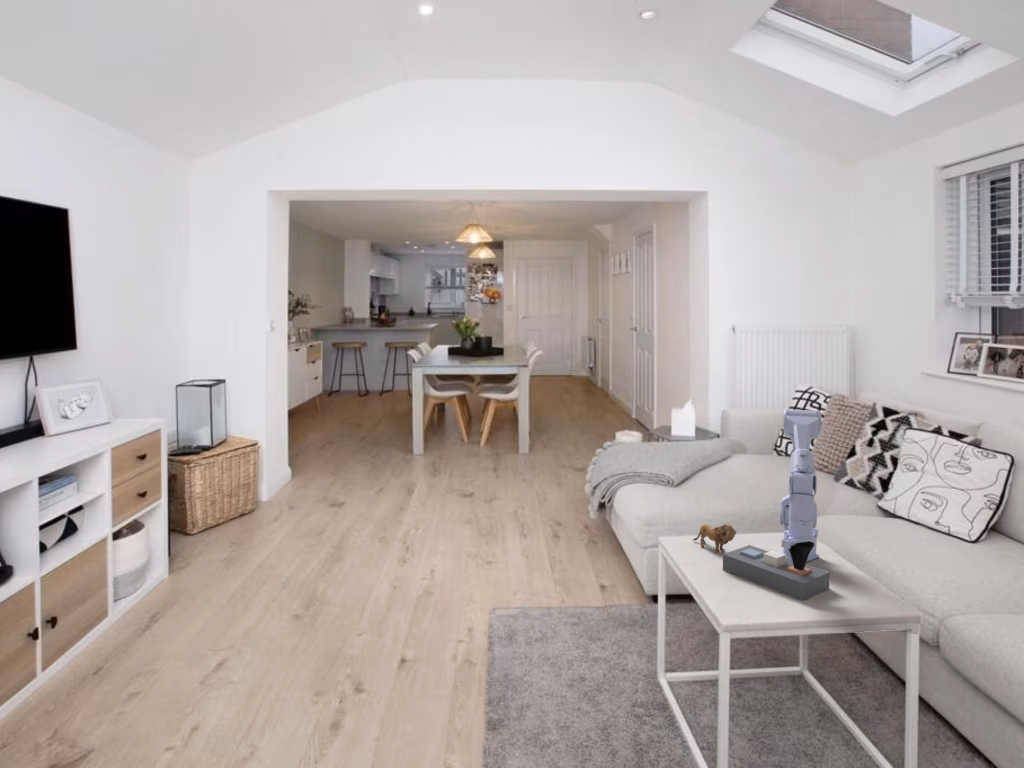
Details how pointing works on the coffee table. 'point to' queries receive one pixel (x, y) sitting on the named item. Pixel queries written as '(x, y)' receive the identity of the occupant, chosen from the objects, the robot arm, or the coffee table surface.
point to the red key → (799, 571)
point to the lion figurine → (717, 535)
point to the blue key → (751, 553)
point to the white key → (774, 559)
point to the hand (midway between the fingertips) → (798, 568)
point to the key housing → (776, 574)
